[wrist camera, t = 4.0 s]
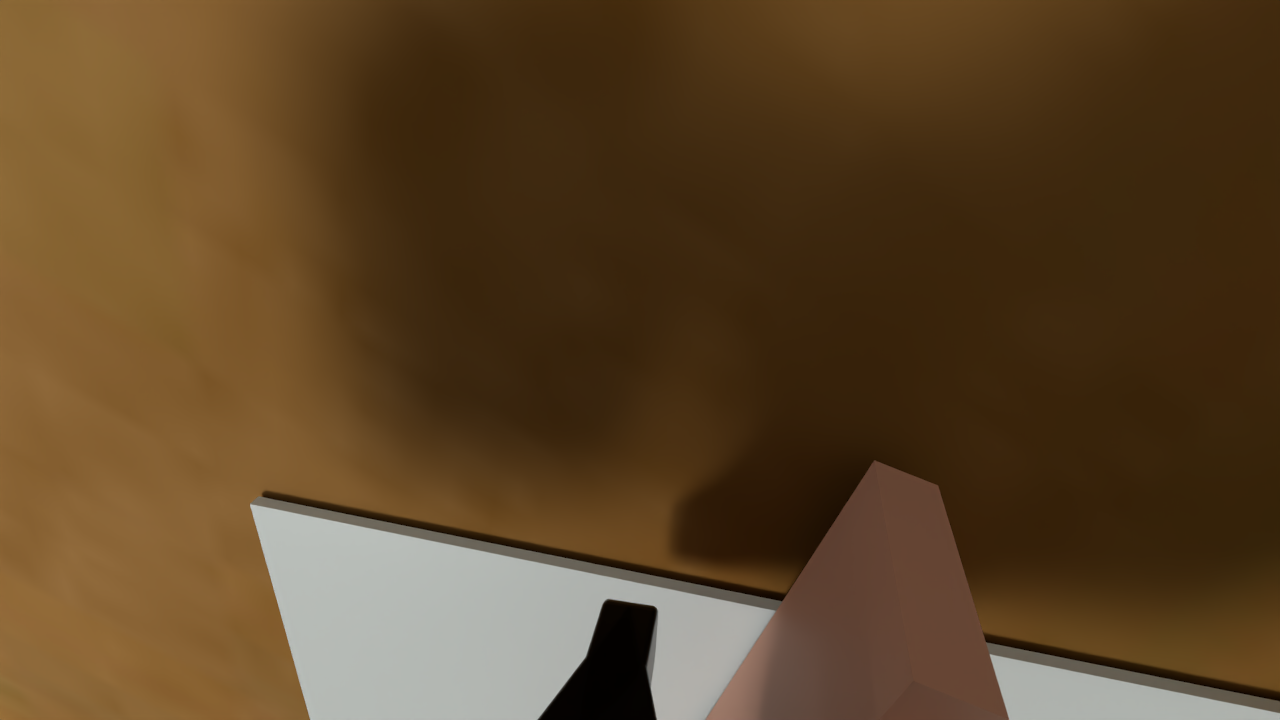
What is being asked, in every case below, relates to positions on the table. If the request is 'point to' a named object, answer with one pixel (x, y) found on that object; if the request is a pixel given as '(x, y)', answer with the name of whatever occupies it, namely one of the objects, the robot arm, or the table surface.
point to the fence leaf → (874, 622)
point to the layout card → (575, 632)
